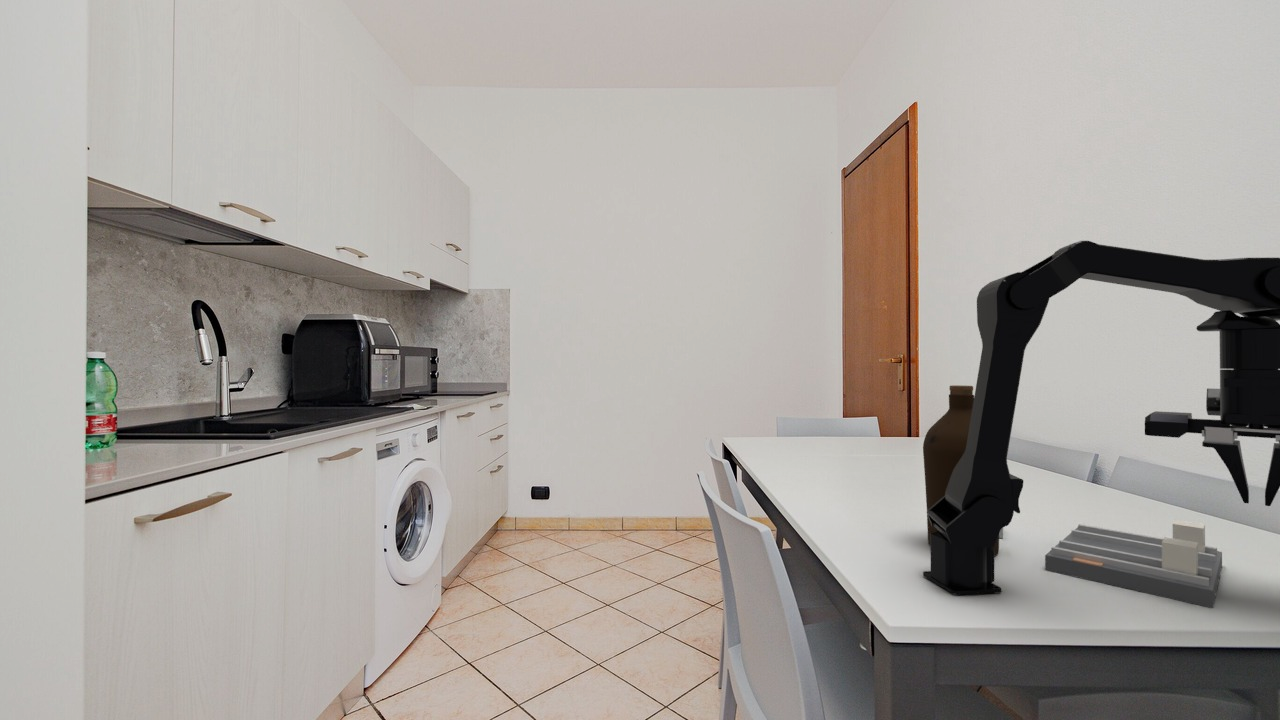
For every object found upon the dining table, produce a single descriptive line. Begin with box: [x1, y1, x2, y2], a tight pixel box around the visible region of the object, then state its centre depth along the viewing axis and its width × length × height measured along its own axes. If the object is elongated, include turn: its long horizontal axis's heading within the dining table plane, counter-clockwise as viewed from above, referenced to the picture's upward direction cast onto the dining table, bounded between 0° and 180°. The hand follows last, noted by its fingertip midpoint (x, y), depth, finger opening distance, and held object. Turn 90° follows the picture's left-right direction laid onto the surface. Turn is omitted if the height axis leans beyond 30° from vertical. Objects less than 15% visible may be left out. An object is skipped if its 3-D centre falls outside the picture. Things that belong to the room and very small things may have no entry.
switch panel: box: [1044, 523, 1223, 609], centre depth 76 cm, size 20×16×3 cm
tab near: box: [1162, 537, 1198, 575], centre depth 69 cm, size 3×3×4 cm
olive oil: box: [922, 384, 1000, 557], centre depth 85 cm, size 11×11×25 cm
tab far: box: [1172, 519, 1206, 553], centre depth 77 cm, size 3×3×4 cm
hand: (1256, 504), depth 64 cm, fingers closed
